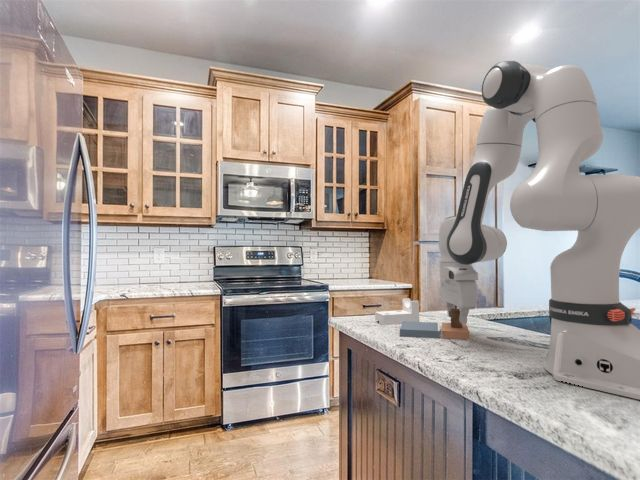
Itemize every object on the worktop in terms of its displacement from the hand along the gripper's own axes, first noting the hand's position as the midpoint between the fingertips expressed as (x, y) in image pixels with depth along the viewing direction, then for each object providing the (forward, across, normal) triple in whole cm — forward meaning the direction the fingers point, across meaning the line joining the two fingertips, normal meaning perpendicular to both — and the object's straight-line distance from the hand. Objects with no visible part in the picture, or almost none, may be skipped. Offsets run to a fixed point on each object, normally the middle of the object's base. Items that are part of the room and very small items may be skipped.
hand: (456, 319), depth 110 cm
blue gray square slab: (+4, -3, -10) cm, 11 cm away
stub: (+4, 0, -1) cm, 4 cm away
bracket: (+5, -20, -14) cm, 24 cm away
